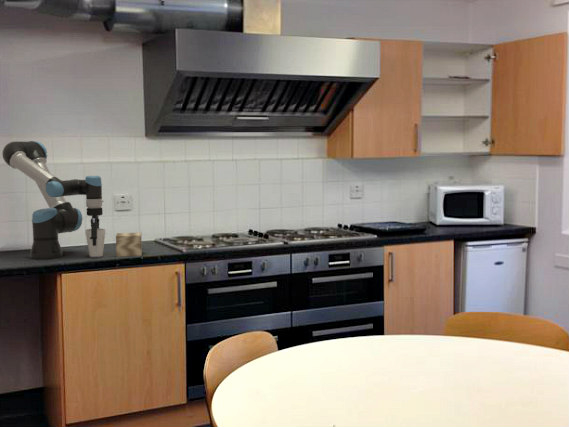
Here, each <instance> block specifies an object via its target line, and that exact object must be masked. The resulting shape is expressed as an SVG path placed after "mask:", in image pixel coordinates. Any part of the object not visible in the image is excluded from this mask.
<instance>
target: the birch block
mask: <svg viewBox="0 0 569 427" xmlns="http://www.w3.org/2000/svg"><path fill="white" fill-rule="evenodd" d="M142 242H143V239H142V232H120V233H119V232H117V233H116V235H115V249H116V250H115V251H116V253H115V255H116V257H117V258H118V257H120V258H121V257H139V256H140V257H141V256H142V254H143V246H142V245H143V244H142Z"/></svg>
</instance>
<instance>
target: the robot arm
mask: <svg viewBox="0 0 569 427" xmlns="http://www.w3.org/2000/svg"><path fill="white" fill-rule="evenodd" d="M47 153H48V151H47V148H46V147H45V145H44V144H43V143H41V142H39V141H34V140H29V141H17V140H15V141H10V142H9V143H7V144H6V145H5V146H4V147H3V150H2V158H3V161H4V162H5V164H6V165H8V166H9V167H11V168H12V169H17V170H19V171H20V172H21V173H23V174H24V175H25V176H27V177H28V178H30V179H31V180H33V181H34V182H35V184H36V185H37V187H38V189H39V191H40V193H41V195H42V196H43V198H44V200H45V202H46V204H47V205H48V207H46V208H40V209H37V210H35V211H33V212H32V215H31V216H32V217H31V222H32V245H31V249H30V251H29V252H30V253H29V258H30V259H36V260H37V259H39V260H44V259H45V260H47V259H57V258H60V257H63V248H62V247H61V244H60V241H59V234H66V233H72V232H76V231H78V230H79V229H80V228H81V226H82V224H83V214H82V212H81V210H80V209H79V208H76V207H73V205H72V204H71V202H69V201H66V199H65V198H64V197H68V196H69V197H71V196H85V204H86V205H85V206H86V215H87V217H88V216H89V217H91V218H90V229H91V237H90V239H92V253H93V252H98V241H97V229H100V218H99V216H102V215H103V214H104V213H103V207H102V206H103V202H104V200H103V199H102V198H103V192H102V187H103V184H102V178H101V176H100V175H86V176H85V179H75V178H74V179H67V180H61V179H60V178H58V177H57V176H55V175H54V174H52V173H51V172H50V170H49V168H48V166H47V159H48V154H47Z"/></svg>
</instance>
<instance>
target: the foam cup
mask: <svg viewBox="0 0 569 427" xmlns="http://www.w3.org/2000/svg"><path fill="white" fill-rule="evenodd" d="M84 233H85V236H86V242H87V249H88V254H89V257H91V258H99V257H104V247H105V238H106V229H105V228H99V229H97V241H98V252H93V253H92V239H90V237H91V228H87V229H85V232H84Z"/></svg>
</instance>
